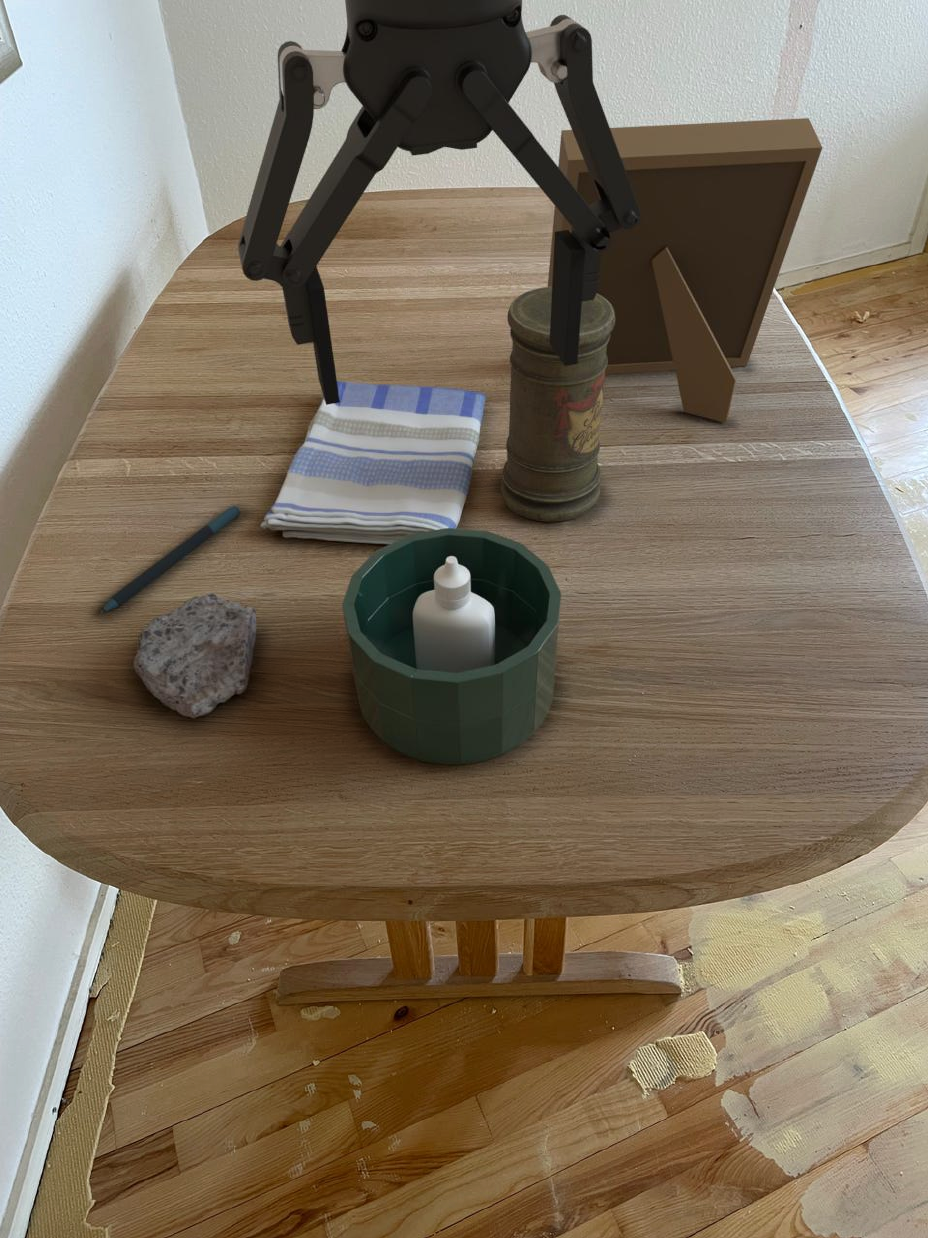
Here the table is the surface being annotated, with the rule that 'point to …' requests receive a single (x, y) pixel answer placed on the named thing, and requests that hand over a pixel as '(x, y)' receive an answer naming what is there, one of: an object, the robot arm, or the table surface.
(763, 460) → the table surface
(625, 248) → the photo frame
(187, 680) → the rock
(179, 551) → the pen
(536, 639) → the pot
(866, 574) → the table surface
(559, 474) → the container
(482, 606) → the eye dropper bottle
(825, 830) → the table surface
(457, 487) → the dish towel
